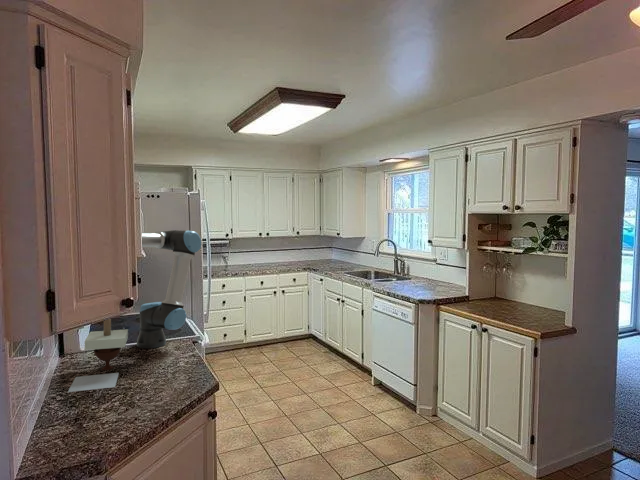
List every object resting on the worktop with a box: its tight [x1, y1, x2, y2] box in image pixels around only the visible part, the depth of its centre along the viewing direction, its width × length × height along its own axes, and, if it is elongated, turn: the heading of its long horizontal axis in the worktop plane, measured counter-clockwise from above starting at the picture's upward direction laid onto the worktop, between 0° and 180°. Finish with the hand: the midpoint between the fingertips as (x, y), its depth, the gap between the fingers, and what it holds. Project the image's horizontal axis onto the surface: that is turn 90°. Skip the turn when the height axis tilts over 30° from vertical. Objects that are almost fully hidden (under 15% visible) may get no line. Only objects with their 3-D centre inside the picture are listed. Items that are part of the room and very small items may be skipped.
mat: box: [67, 372, 120, 393], centre depth 179 cm, size 17×17×1 cm
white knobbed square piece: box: [84, 318, 129, 351], centre depth 195 cm, size 16×16×13 cm
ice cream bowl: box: [93, 347, 122, 371], centre depth 196 cm, size 11×11×15 cm
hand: (107, 309), depth 195 cm, fingers open, 13 cm apart
